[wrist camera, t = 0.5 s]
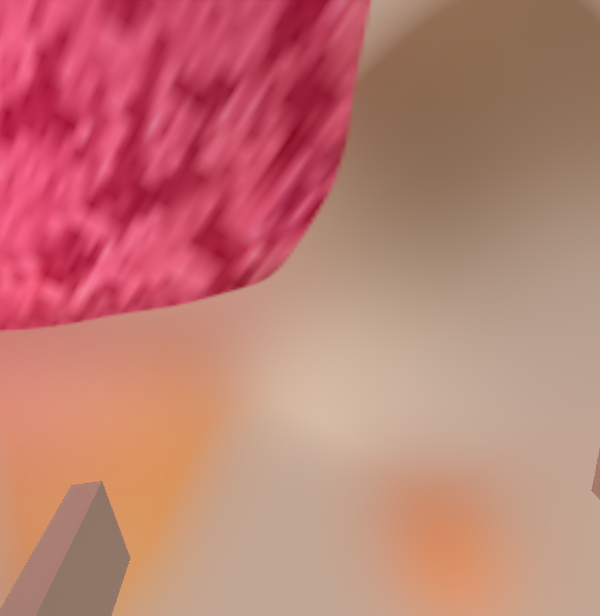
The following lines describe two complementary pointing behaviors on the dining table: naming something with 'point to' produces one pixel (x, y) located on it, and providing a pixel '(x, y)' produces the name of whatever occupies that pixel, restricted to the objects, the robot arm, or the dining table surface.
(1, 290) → the dining table surface
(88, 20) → the dining table surface
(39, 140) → the dining table surface
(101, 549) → the robot arm
